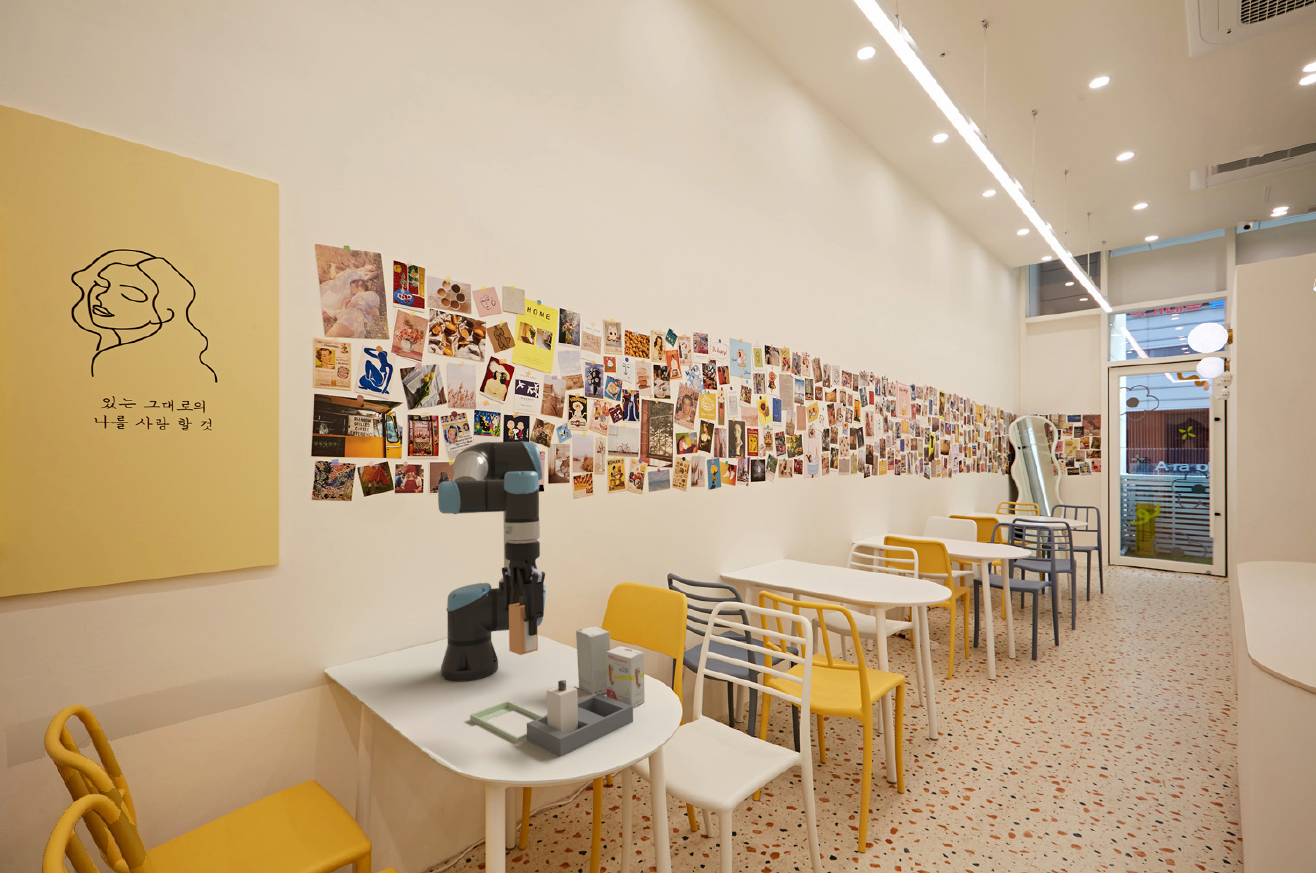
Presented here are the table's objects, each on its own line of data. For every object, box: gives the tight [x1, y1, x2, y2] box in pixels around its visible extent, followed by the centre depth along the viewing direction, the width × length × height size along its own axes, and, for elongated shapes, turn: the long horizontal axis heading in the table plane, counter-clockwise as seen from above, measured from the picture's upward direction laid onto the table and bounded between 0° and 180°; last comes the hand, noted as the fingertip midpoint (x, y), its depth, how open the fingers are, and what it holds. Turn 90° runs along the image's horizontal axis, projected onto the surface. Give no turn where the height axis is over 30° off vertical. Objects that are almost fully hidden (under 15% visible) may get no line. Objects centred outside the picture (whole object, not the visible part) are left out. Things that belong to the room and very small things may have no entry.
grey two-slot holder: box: [526, 694, 634, 758], centre depth 128 cm, size 11×20×4 cm, turn 138°
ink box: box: [606, 645, 646, 708], centre depth 144 cm, size 9×5×12 cm, turn 49°
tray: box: [469, 700, 544, 743], centre depth 132 cm, size 18×10×2 cm, turn 48°
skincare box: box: [575, 626, 611, 696], centre depth 152 cm, size 8×6×15 cm
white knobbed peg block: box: [546, 679, 579, 734], centre depth 124 cm, size 4×4×12 cm
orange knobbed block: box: [508, 597, 539, 656], centre depth 133 cm, size 4×4×12 cm
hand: (523, 647), depth 132 cm, fingers closed on orange knobbed block, 4 cm apart
